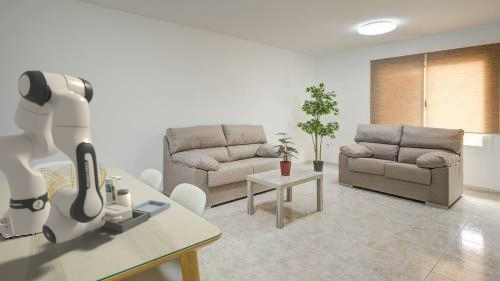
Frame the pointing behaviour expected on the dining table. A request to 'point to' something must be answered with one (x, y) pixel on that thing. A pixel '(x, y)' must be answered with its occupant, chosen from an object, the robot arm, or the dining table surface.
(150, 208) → the tray
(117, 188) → the syrup box
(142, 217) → the frame
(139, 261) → the dining table surface
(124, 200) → the canister
